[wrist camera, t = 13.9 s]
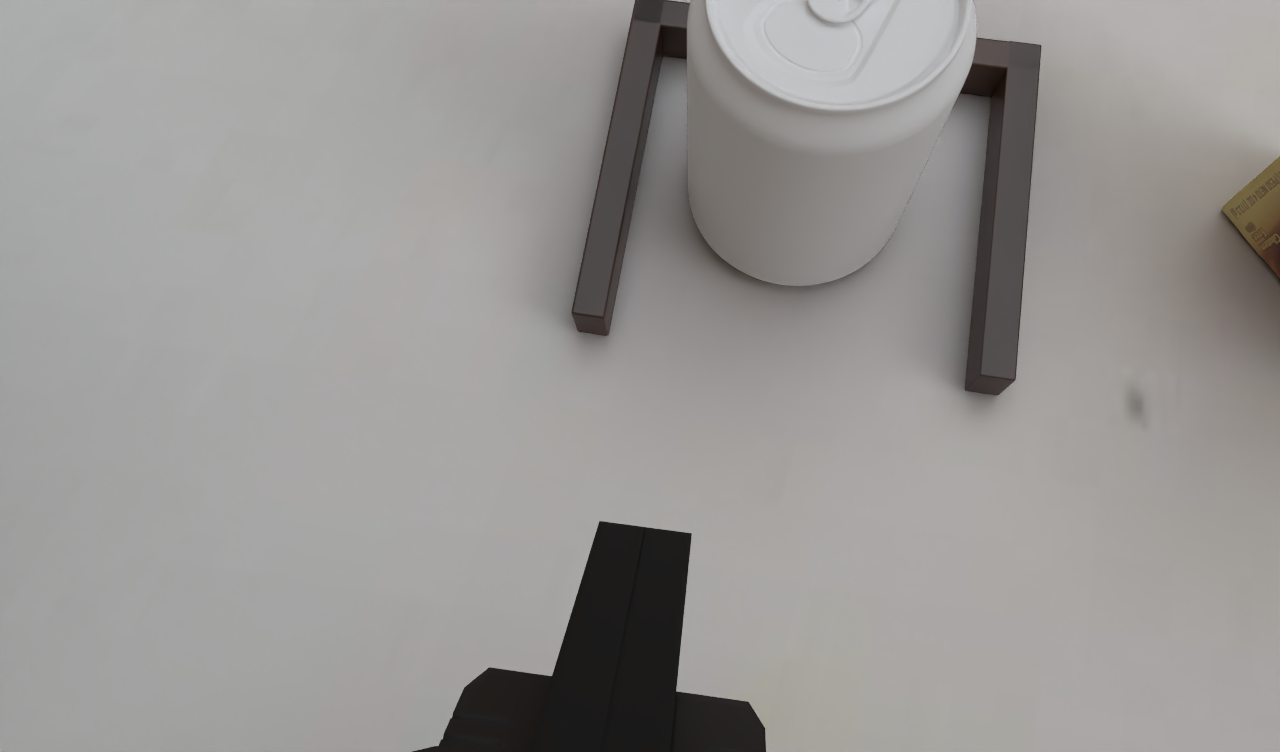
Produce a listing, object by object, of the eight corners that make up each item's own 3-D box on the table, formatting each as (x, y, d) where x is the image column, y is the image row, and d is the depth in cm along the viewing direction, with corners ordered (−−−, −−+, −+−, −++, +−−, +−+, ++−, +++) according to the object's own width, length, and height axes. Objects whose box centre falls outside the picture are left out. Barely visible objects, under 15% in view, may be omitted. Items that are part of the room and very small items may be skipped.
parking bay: (576, 331, 37) (570, 313, 36) (638, 26, 41) (635, -5, 39) (998, 395, 36) (1015, 380, 34) (1024, 74, 40) (1041, 44, 38)
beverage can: (646, 221, 39) (628, 32, 27) (761, 65, 40) (789, -176, 29) (828, 333, 37) (891, 182, 25) (940, 165, 39) (1047, -48, 27)
